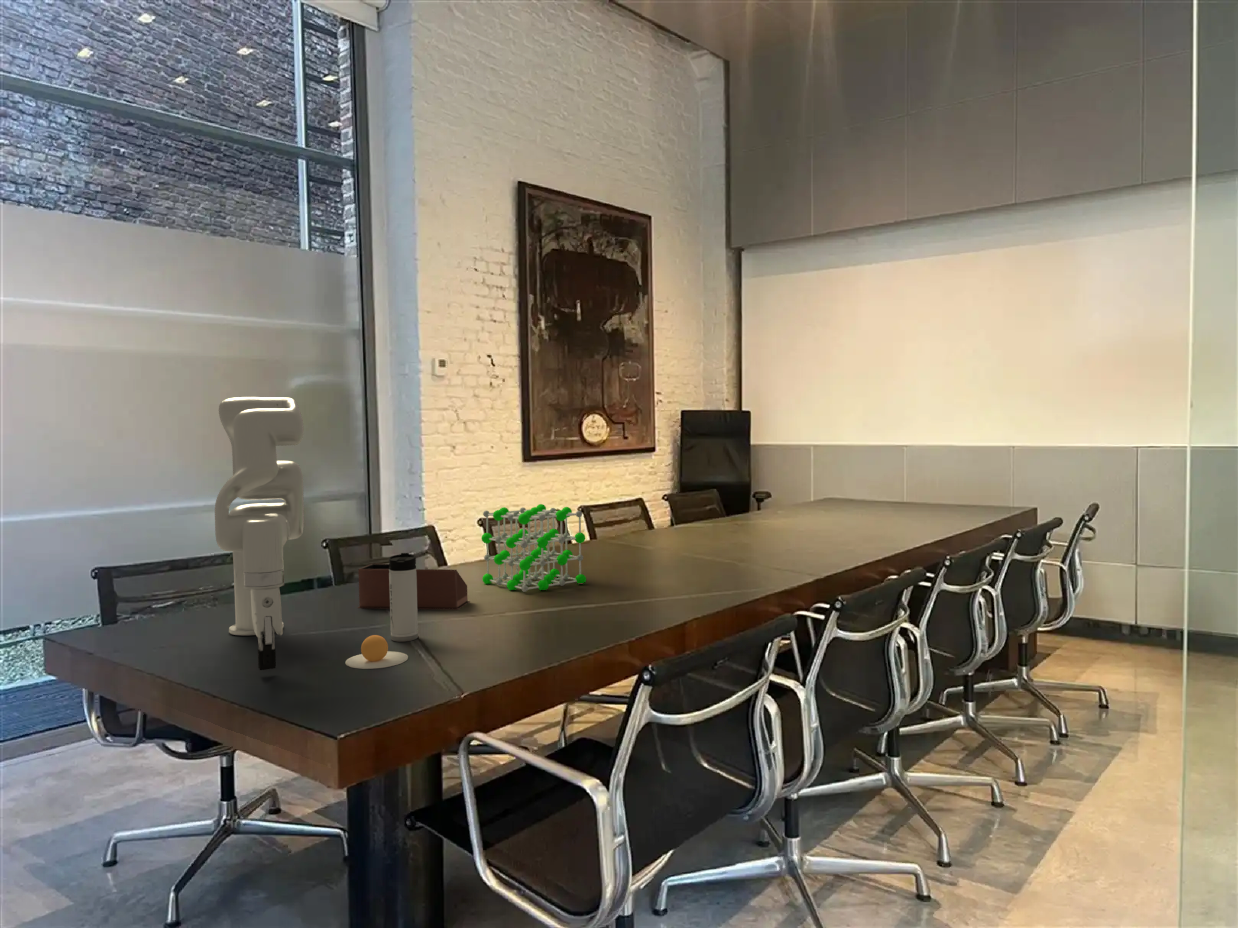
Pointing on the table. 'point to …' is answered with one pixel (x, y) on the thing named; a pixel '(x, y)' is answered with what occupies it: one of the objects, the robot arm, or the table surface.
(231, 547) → the robot arm
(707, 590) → the table surface
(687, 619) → the table surface
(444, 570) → the desk organizer
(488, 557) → the molecular structure model
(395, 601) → the travel mug
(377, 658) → the ball
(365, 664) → the disc
